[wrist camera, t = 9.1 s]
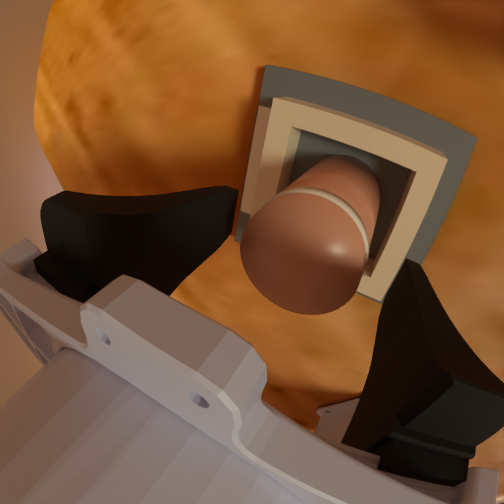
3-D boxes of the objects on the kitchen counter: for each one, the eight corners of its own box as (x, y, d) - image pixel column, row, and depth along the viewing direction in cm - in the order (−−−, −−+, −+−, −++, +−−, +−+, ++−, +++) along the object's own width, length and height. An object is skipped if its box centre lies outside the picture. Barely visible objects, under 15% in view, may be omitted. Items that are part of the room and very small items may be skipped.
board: (395, 302, 19) (392, 329, 17) (239, 235, 22) (219, 253, 20) (473, 135, 12) (487, 143, 10) (271, 65, 15) (249, 62, 13)
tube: (339, 243, 18) (296, 331, 12) (289, 186, 18) (217, 248, 12) (398, 200, 15) (390, 280, 9) (344, 137, 15) (297, 170, 9)
